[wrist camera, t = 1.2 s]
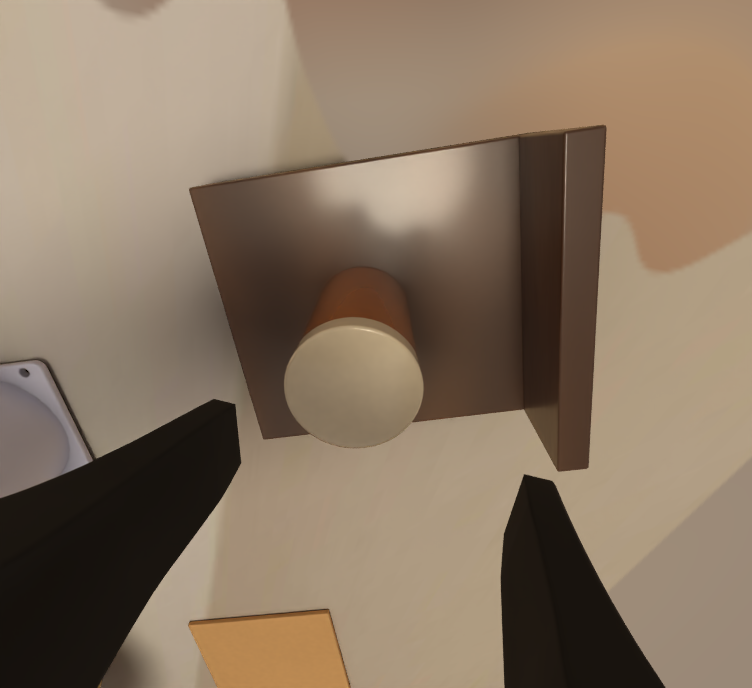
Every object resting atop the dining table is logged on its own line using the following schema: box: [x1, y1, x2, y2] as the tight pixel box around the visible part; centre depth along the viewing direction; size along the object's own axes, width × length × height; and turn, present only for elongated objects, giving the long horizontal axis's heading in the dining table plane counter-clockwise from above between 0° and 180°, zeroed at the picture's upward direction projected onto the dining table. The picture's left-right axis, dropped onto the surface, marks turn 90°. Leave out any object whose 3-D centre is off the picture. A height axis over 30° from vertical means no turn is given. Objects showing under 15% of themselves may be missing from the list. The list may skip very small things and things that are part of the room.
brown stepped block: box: [189, 125, 606, 472], centre depth 18 cm, size 14×12×7 cm
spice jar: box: [284, 267, 424, 448], centre depth 16 cm, size 4×4×7 cm
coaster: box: [188, 610, 350, 688], centre depth 33 cm, size 10×10×1 cm
